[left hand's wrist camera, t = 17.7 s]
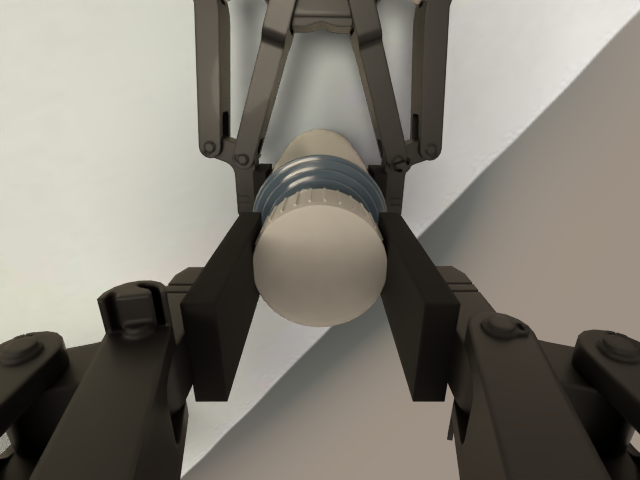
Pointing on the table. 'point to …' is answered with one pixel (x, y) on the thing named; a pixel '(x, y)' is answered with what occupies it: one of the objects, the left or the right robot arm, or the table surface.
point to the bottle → (320, 173)
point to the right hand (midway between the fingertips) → (319, 264)
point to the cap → (319, 258)
